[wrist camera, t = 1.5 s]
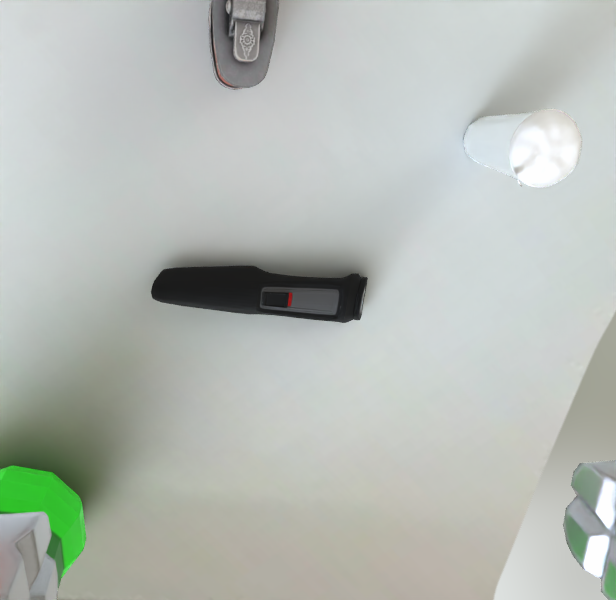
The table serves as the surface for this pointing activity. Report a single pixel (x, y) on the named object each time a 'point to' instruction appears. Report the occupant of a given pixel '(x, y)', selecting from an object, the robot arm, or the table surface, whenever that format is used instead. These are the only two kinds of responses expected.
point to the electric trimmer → (262, 292)
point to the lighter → (241, 40)
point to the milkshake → (526, 145)
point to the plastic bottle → (46, 510)
